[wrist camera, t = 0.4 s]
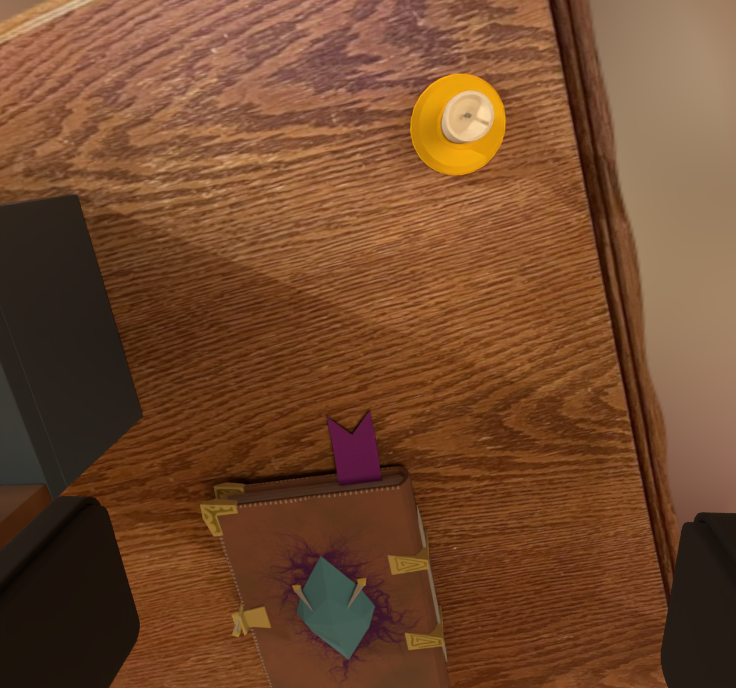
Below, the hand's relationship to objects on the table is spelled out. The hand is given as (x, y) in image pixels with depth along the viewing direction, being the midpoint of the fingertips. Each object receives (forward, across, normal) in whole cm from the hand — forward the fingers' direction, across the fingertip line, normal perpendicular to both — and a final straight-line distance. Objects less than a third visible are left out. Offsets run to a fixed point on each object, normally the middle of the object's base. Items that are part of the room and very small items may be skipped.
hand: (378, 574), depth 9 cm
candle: (+26, -2, -7) cm, 27 cm away
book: (+26, +8, +24) cm, 36 cm away
